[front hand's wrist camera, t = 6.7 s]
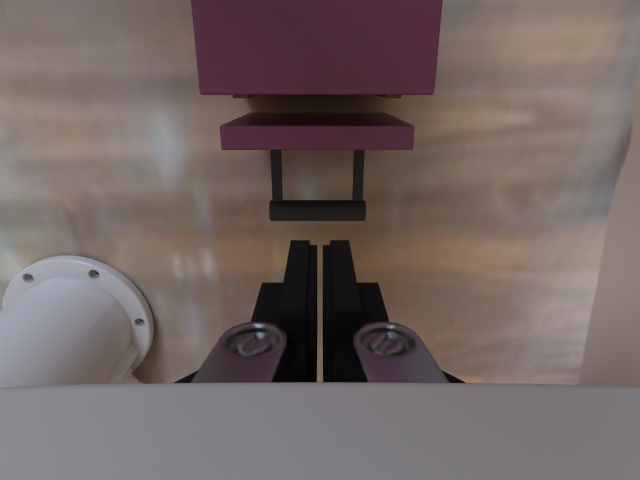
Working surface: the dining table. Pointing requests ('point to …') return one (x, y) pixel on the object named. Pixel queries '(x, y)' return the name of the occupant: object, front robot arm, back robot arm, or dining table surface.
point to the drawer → (317, 135)
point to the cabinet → (316, 46)
